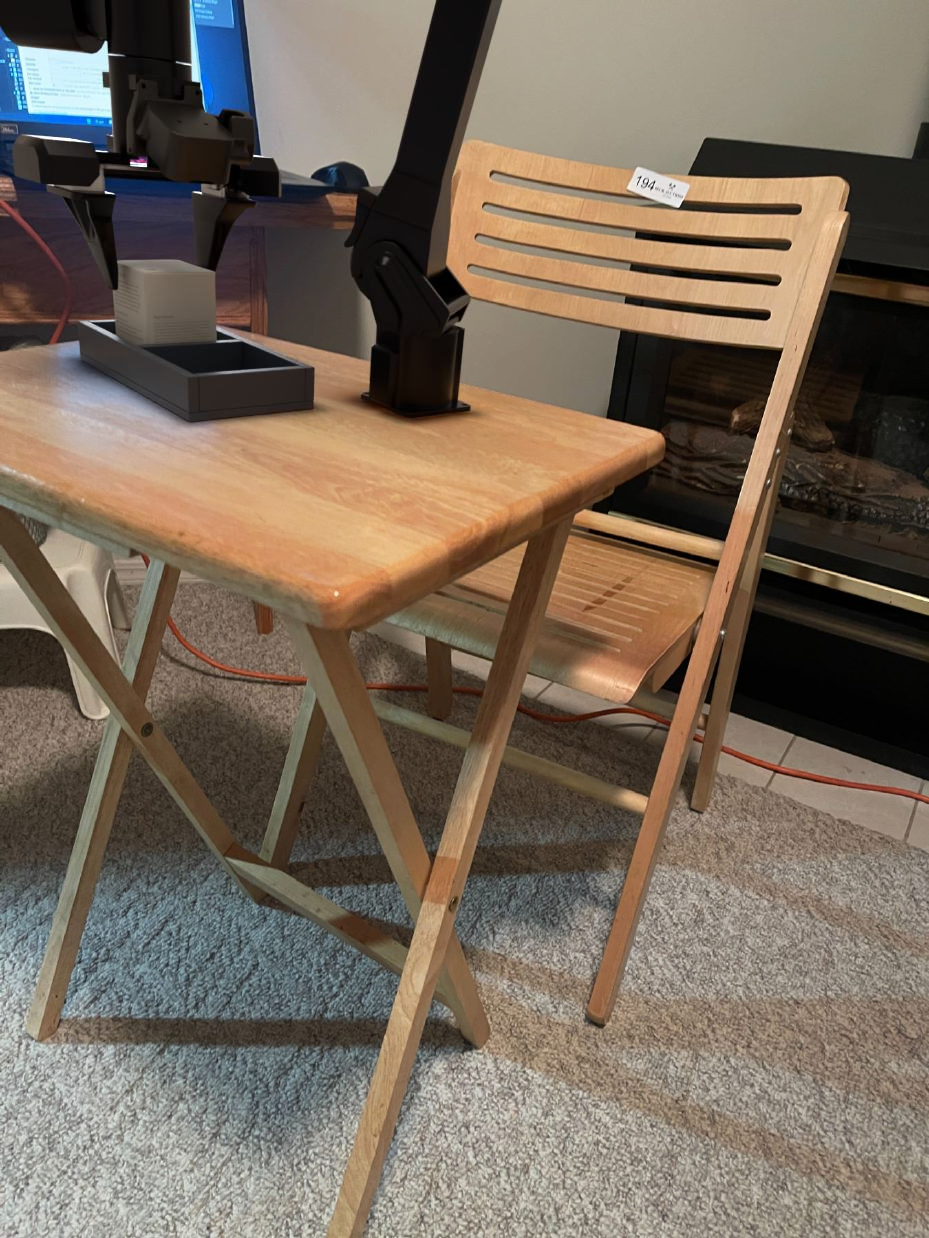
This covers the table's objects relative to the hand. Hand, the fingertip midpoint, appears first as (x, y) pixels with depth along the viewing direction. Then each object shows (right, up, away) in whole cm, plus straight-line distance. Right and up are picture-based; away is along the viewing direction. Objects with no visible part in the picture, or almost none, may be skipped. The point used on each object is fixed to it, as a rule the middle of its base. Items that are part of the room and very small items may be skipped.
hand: (160, 289), depth 74 cm
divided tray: (+3, -8, 0) cm, 8 cm away
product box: (0, -5, +3) cm, 6 cm away
